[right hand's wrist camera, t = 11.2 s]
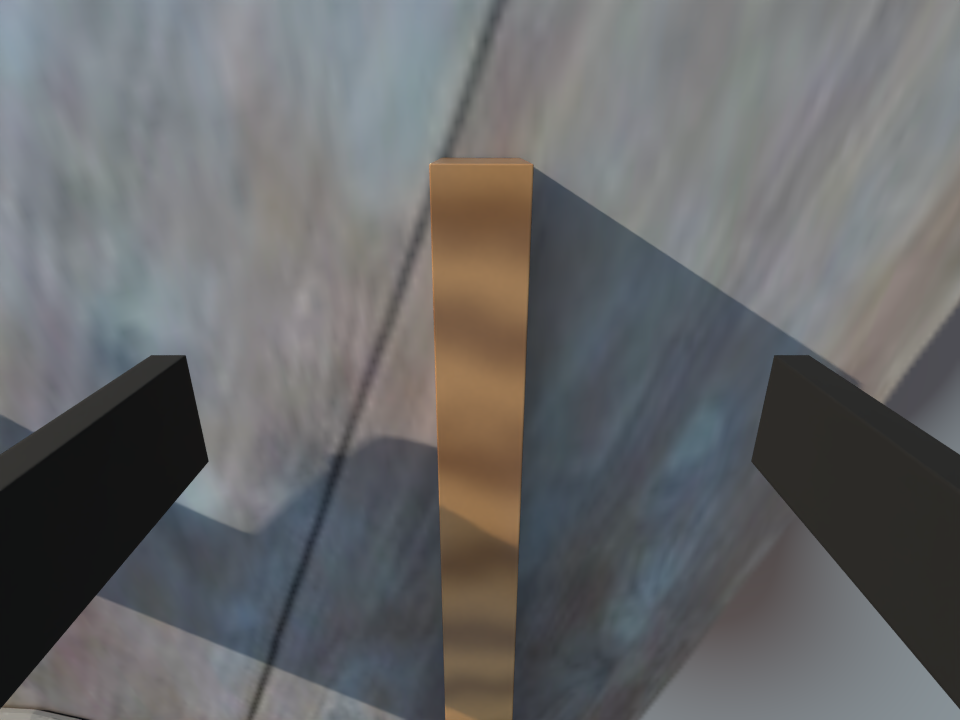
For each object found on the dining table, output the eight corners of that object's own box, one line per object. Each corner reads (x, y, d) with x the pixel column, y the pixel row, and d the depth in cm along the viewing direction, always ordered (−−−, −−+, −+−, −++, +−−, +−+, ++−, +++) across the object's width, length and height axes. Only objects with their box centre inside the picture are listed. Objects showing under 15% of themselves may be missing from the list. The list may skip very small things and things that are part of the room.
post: (440, 157, 31) (429, 163, 23) (521, 157, 31) (533, 163, 23) (454, 769, 50) (449, 873, 43) (502, 769, 50) (506, 873, 43)
